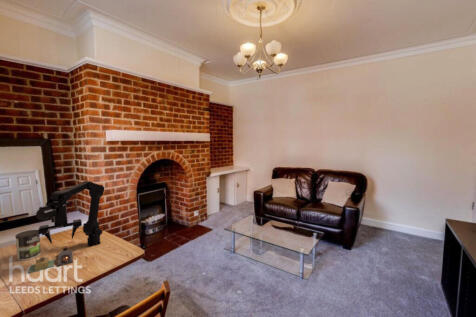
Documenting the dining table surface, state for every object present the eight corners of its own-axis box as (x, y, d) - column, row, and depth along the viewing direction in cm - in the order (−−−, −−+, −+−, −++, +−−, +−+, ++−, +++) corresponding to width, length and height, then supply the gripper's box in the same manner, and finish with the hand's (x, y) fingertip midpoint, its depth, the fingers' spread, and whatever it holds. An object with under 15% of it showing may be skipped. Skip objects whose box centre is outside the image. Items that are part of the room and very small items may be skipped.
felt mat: (54, 260, 124) (54, 259, 124) (53, 266, 118) (53, 265, 118) (30, 266, 118) (30, 265, 118) (28, 273, 111) (28, 272, 111)
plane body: (58, 255, 129) (58, 247, 129) (72, 251, 133) (72, 244, 133) (57, 266, 117) (57, 258, 117) (72, 262, 121) (72, 254, 121)
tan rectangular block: (36, 264, 119) (36, 258, 118) (48, 261, 122) (48, 255, 122) (35, 270, 113) (34, 264, 113) (47, 266, 116) (47, 260, 116)
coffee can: (45, 252, 132) (44, 230, 131) (26, 261, 122) (24, 237, 121) (32, 250, 134) (30, 228, 133) (12, 259, 124) (10, 236, 123)
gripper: (80, 207, 133) (81, 231, 134) (39, 213, 121) (41, 240, 123) (81, 212, 124) (82, 238, 125) (37, 219, 113) (39, 247, 114)
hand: (62, 240), depth 122 cm, fingers open, 9 cm apart
